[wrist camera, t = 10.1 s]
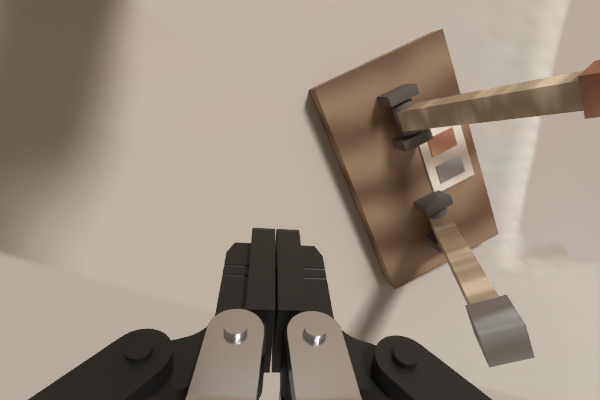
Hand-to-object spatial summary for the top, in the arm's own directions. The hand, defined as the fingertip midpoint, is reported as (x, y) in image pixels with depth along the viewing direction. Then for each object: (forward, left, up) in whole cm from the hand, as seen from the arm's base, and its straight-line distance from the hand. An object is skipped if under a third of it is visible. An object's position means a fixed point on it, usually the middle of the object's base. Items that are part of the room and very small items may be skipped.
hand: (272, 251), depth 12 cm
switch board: (+10, +16, -27) cm, 33 cm away
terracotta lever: (+4, +16, -24) cm, 29 cm away
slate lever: (+16, +16, -23) cm, 33 cm away
